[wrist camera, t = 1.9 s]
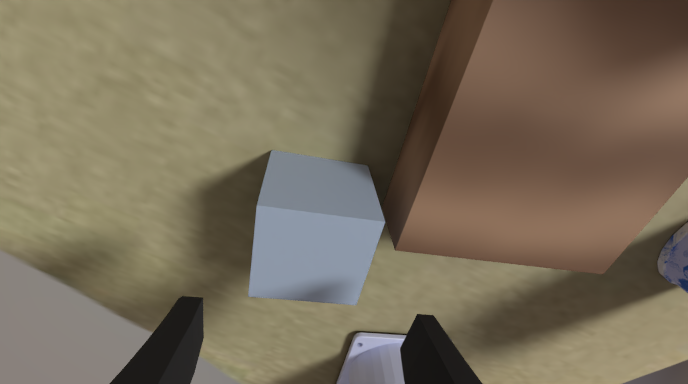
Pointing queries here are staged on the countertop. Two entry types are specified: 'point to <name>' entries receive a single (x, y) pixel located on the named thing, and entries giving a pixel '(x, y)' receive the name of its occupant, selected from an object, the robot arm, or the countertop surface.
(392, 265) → the countertop surface
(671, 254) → the aerosol can
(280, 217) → the slate cube
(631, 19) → the walnut slab
